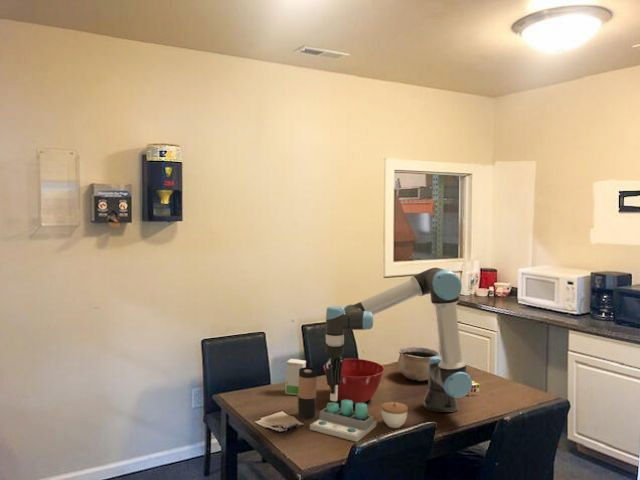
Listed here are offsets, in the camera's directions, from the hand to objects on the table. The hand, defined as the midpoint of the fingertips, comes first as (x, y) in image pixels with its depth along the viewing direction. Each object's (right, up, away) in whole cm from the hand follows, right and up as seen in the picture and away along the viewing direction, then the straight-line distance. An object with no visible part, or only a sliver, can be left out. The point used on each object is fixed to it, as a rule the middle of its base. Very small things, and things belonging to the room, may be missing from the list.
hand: (333, 400), depth 220 cm
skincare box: (-18, -7, +36) cm, 40 cm away
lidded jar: (+25, -10, 0) cm, 27 cm away
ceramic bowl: (+47, -8, +63) cm, 79 cm away
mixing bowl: (+10, -8, +29) cm, 32 cm away
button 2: (+5, -4, -3) cm, 7 cm away
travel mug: (-11, -9, +7) cm, 16 cm away
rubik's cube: (+69, -10, +41) cm, 81 cm away
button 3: (-1, -7, 0) cm, 7 cm away
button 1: (+11, -5, -6) cm, 13 cm away
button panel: (+4, -10, -5) cm, 11 cm away
